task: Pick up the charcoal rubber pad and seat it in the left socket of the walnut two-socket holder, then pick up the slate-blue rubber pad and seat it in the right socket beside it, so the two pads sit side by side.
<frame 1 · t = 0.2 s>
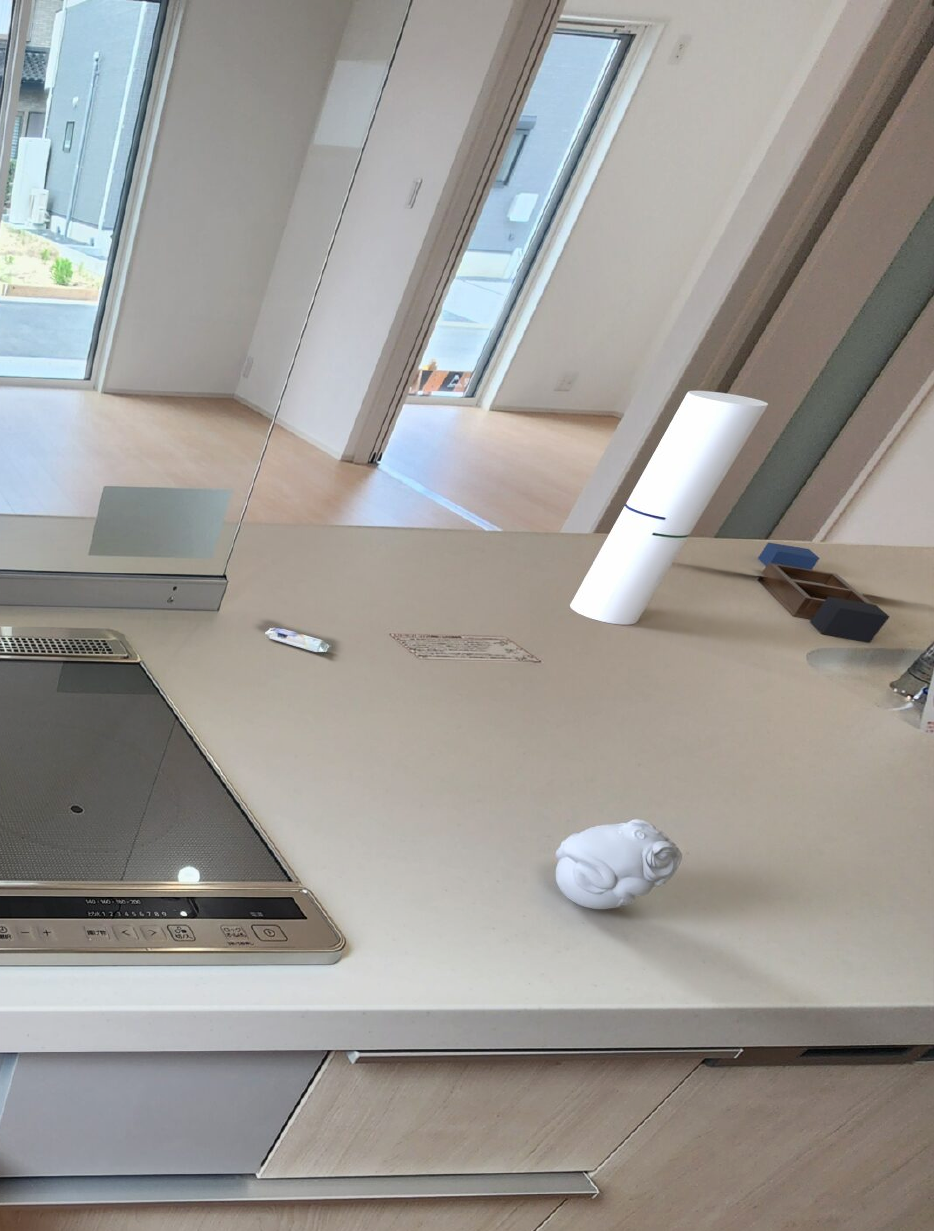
granola bar: (295, 645, 106), on the worktop
pad blue: (777, 573, 135), on the worktop
holder: (809, 603, 126), on the worktop
cylindrical container: (602, 614, 119), on the worktop
frog figurine: (583, 903, 71), on the worktop
pad charcoal: (839, 632, 118), on the worktop
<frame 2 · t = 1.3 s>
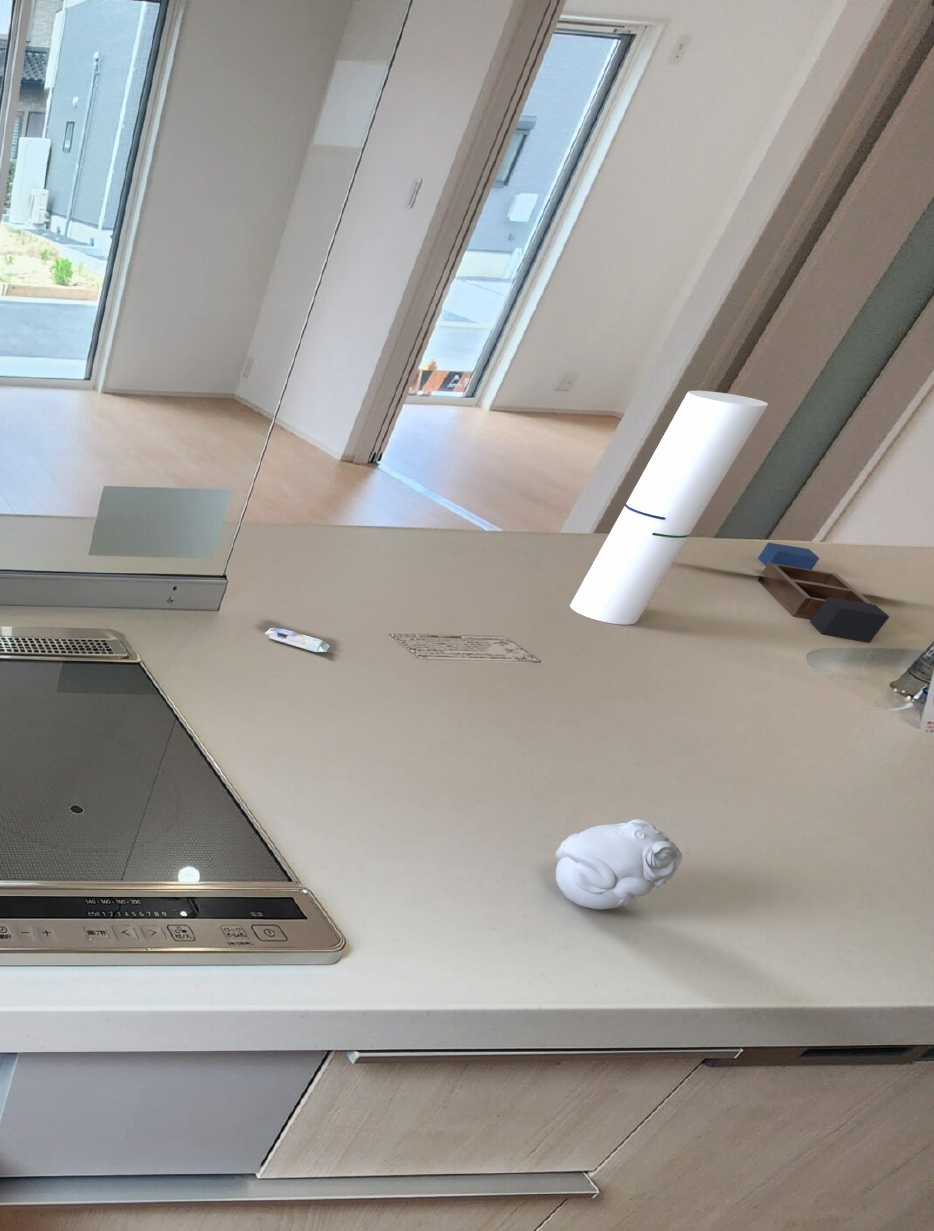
nothing on the worktop moved.
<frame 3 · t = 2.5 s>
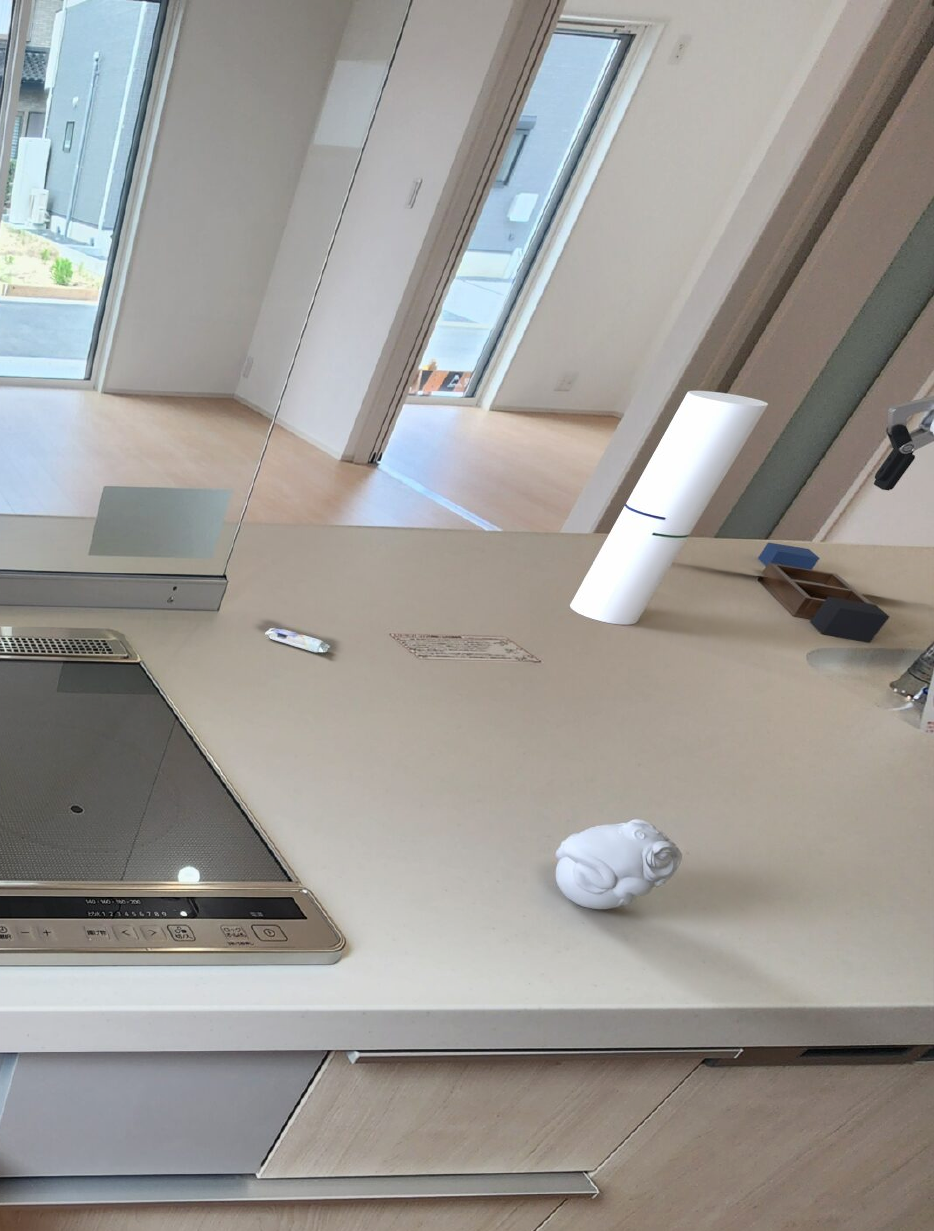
hand: (933, 495, 110), 16 cm above the worktop, tool pointing down, fingers open, 9 cm apart
nothing on the worktop moved.
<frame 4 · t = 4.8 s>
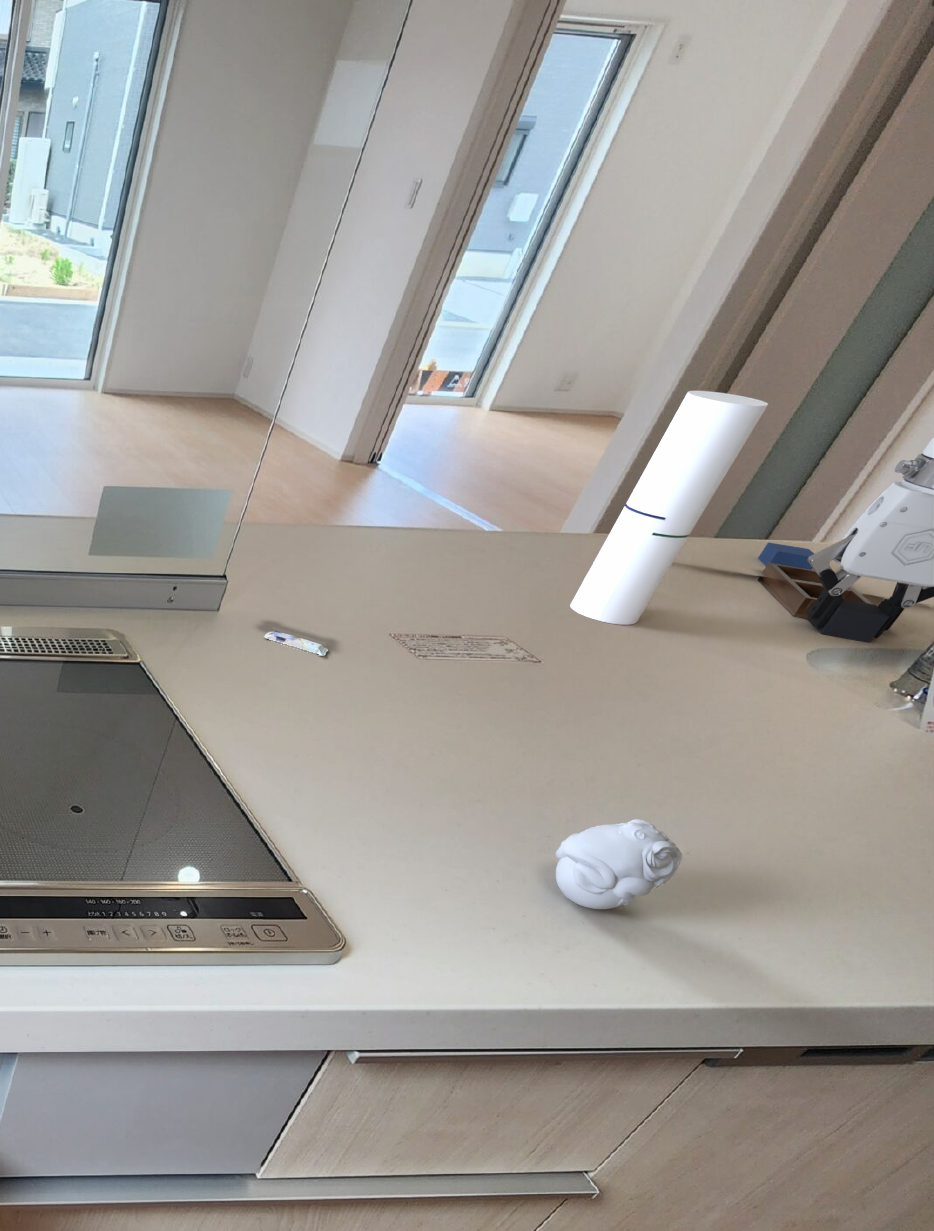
hand: (842, 627, 118), 1 cm above the worktop, tool pointing down, fingers closed on pad charcoal, 4 cm apart
pad charcoal: (839, 632, 118), on the worktop, touching gripper
everything else where it was.
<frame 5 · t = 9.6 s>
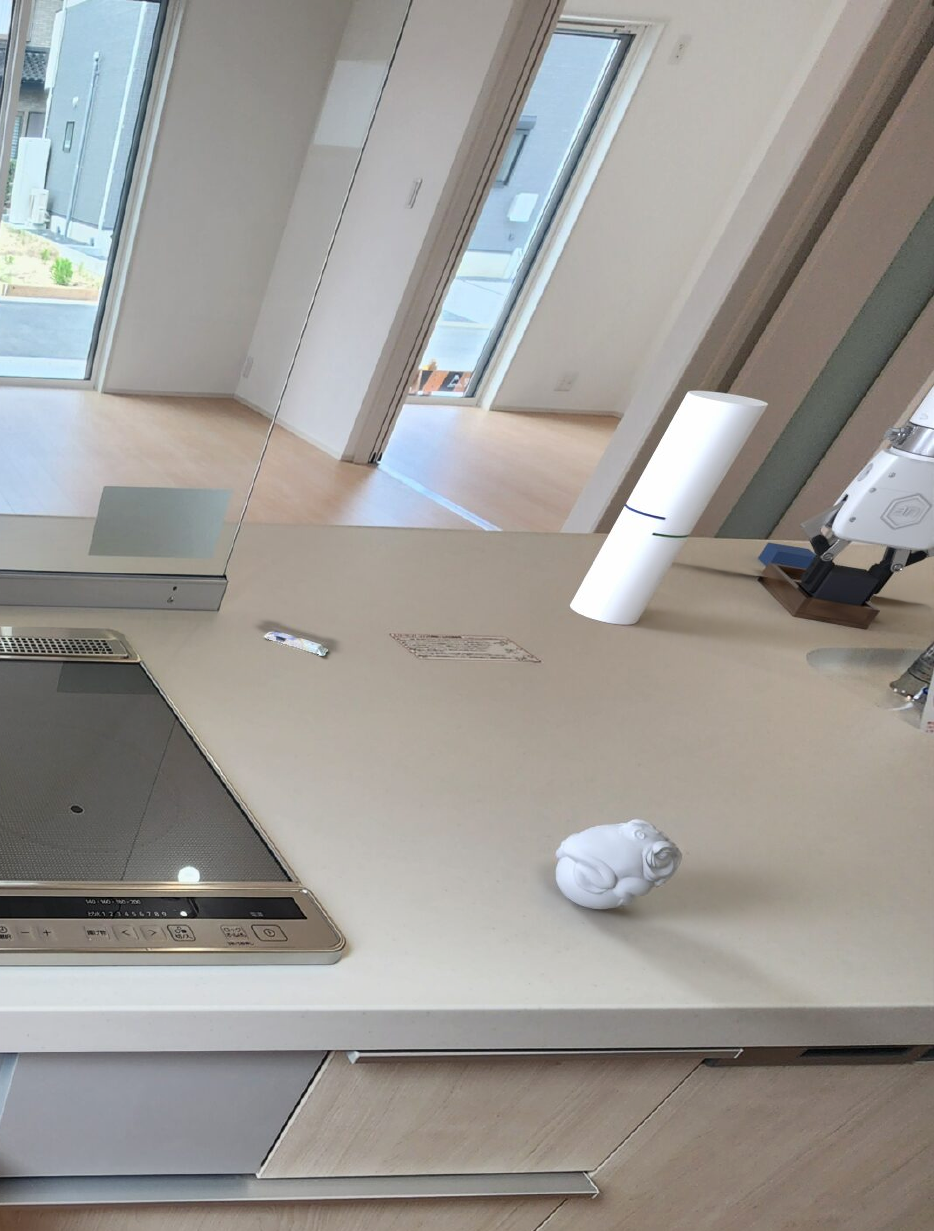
hand: (834, 591, 122), 3 cm above the worktop, tool pointing down, fingers closed on pad charcoal, 4 cm apart
pad charcoal: (830, 596, 122), point 2 cm above the worktop, touching gripper
everything else where it was.
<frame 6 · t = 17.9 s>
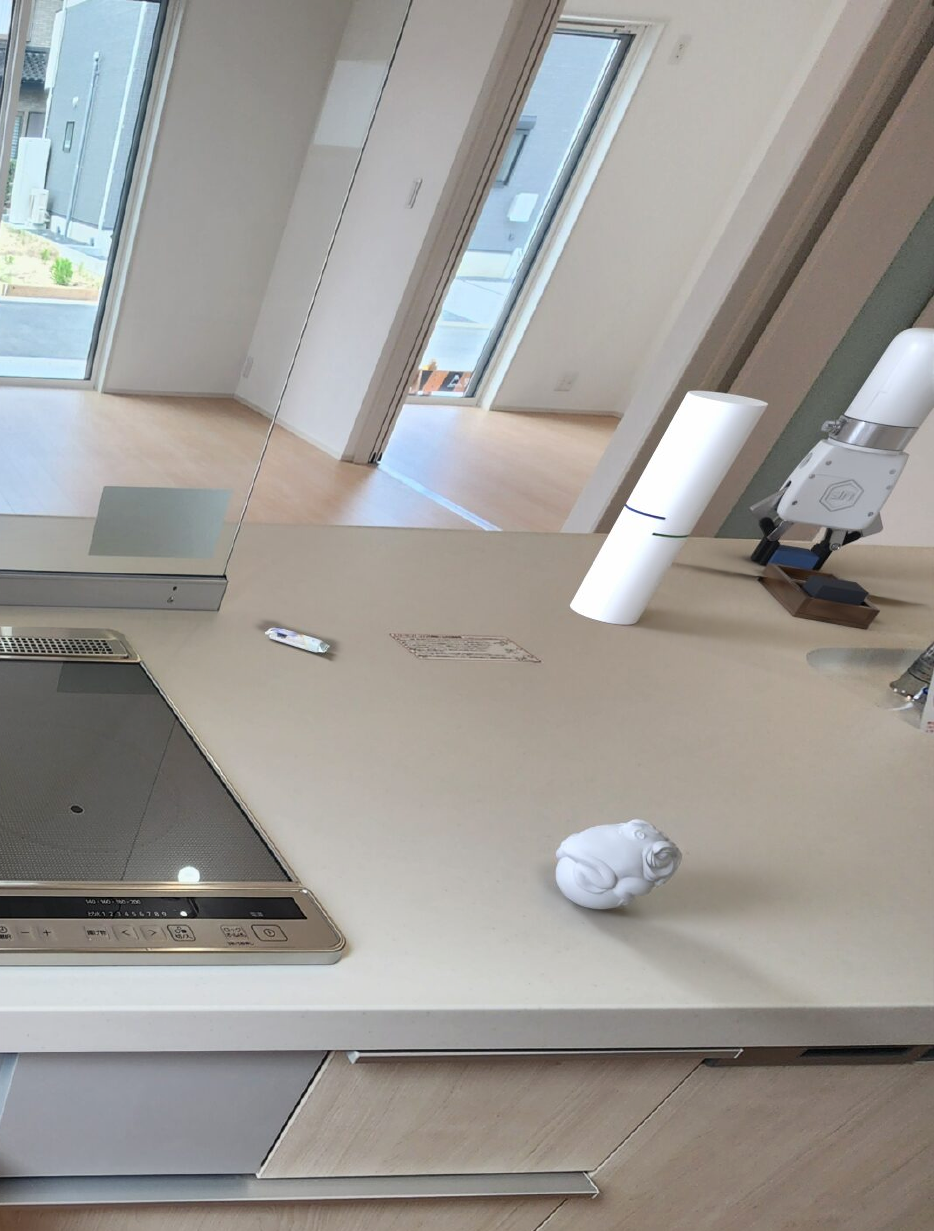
hand: (780, 569, 135), 1 cm above the worktop, tool pointing down, fingers closed on pad blue, 4 cm apart
pad blue: (777, 573, 135), on the worktop, touching gripper
pad charcoal: (821, 608, 123), resting on holder
everything else where it was.
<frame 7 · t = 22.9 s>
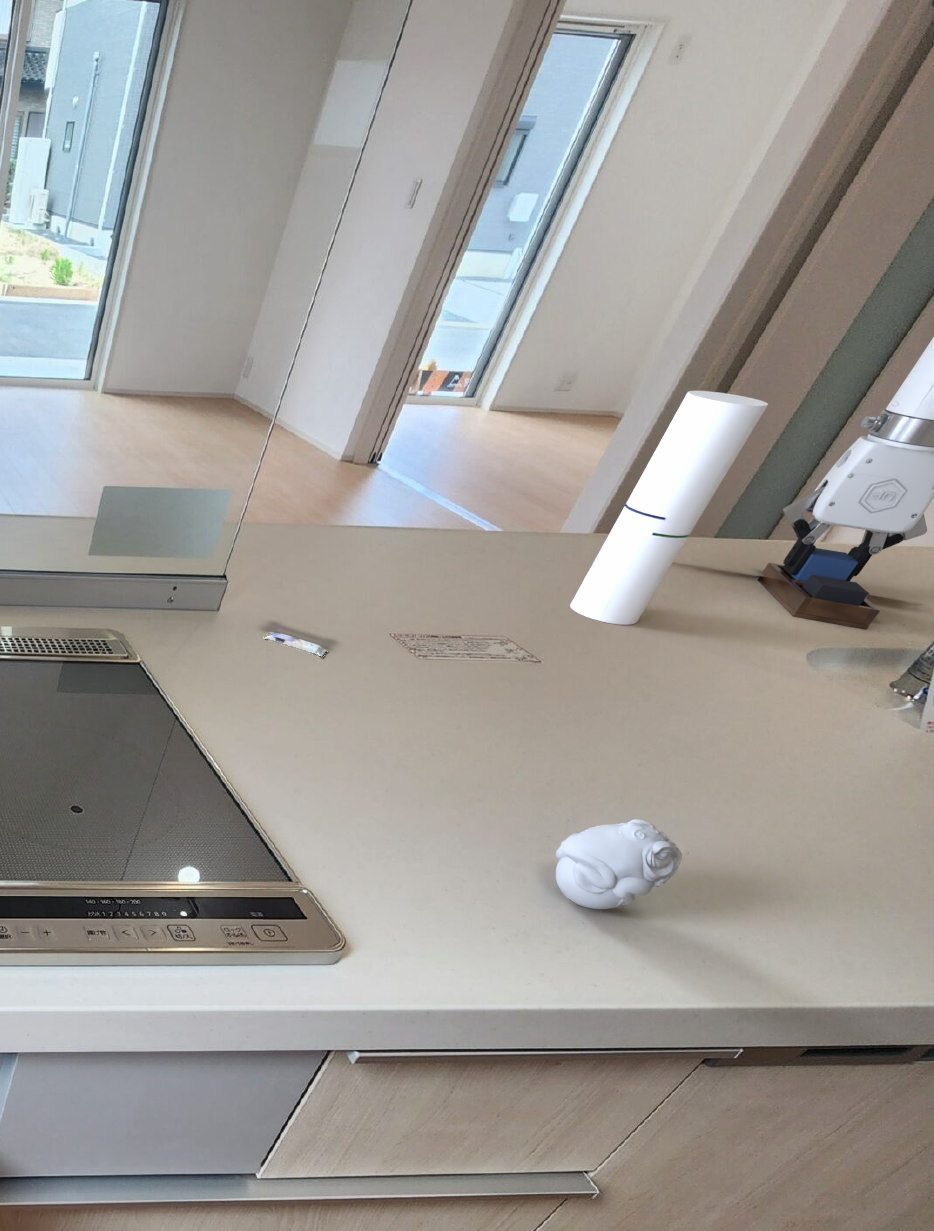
hand: (815, 574, 127), 3 cm above the worktop, tool pointing down, fingers closed on pad blue, 4 cm apart
pad blue: (812, 578, 127), point 2 cm above the worktop, touching gripper
everything else where it was.
when the fingers open (3 cm above the worktop, at t = 26.7 s): pad blue drops 2 cm, resting on holder.
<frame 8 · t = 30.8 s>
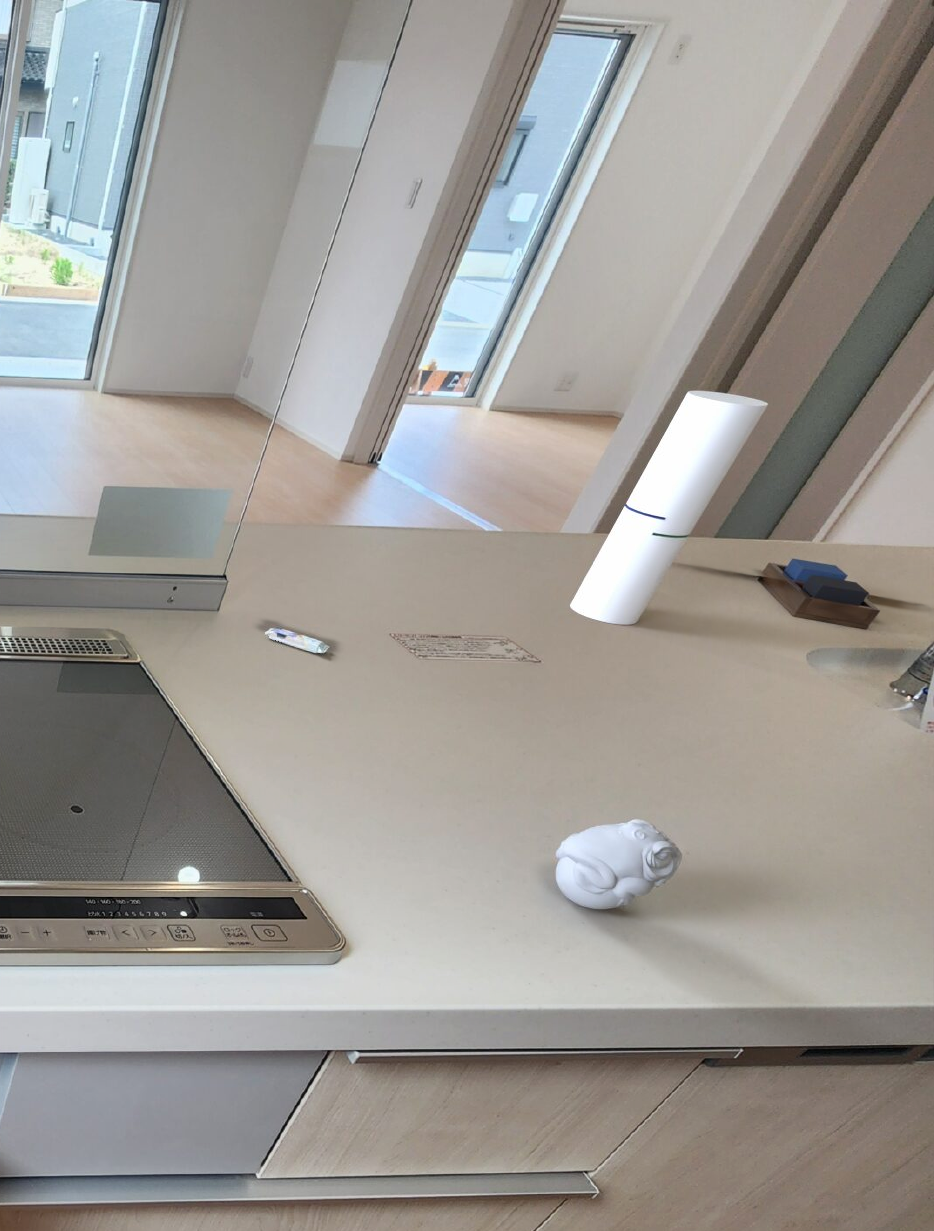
pad blue: (802, 591, 128), resting on holder
everything else where it was.
at the end: pad charcoal 0.0 cm from the target spot in the holder, point 0.5 cm above the holder's base; pad blue 0.0 cm from the target spot in the holder, point 0.5 cm above the holder's base; pad blue tilted 0° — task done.
